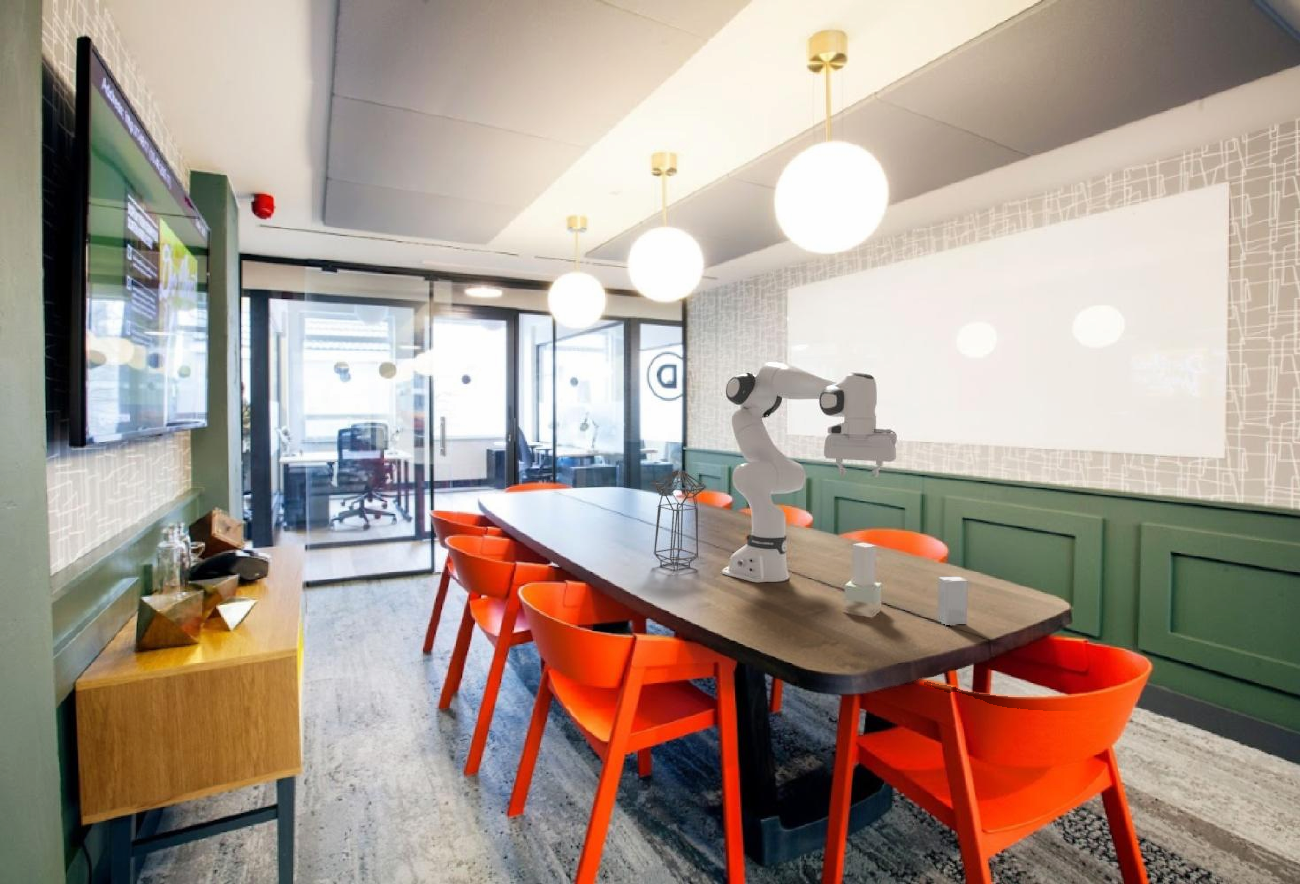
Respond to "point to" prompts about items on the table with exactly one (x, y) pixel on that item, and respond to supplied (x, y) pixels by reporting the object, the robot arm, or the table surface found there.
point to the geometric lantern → (677, 514)
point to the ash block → (861, 608)
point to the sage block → (863, 593)
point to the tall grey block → (863, 564)
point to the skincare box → (952, 600)
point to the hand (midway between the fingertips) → (858, 475)
